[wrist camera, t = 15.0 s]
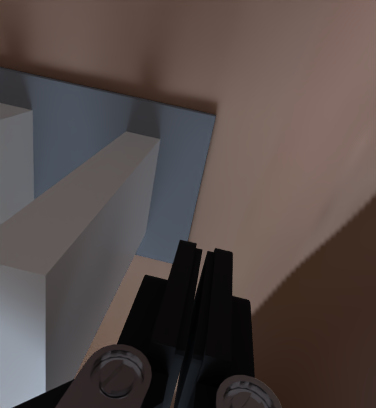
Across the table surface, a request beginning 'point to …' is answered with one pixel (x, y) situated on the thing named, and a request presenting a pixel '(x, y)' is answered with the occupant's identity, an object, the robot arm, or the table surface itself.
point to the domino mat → (106, 133)
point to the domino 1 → (15, 160)
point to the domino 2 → (69, 265)
